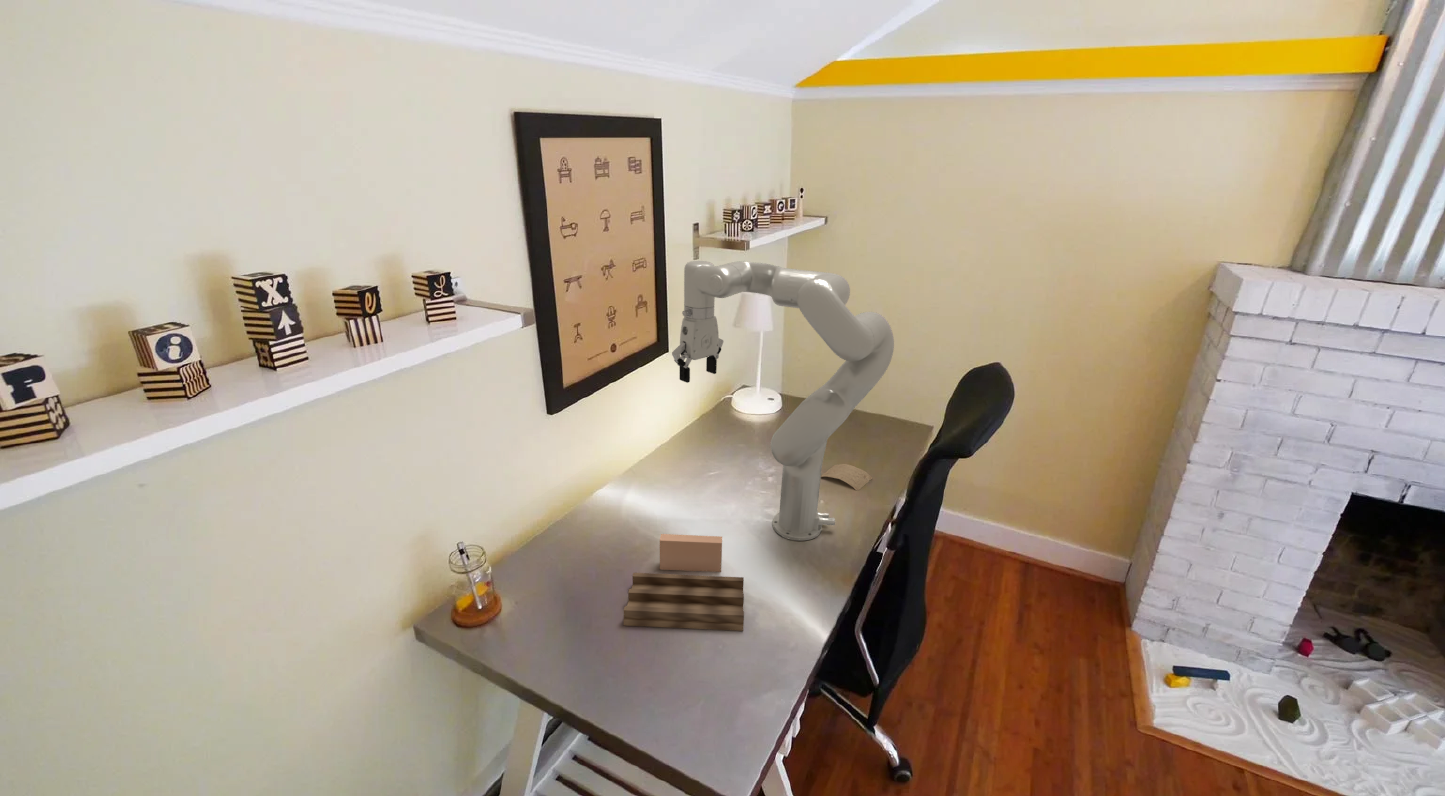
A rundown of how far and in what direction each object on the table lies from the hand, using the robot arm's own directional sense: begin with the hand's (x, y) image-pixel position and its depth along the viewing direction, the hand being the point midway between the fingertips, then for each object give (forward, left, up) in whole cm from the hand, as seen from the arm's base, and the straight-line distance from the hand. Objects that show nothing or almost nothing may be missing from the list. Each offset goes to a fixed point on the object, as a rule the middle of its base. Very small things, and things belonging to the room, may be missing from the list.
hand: (698, 376), depth 153 cm
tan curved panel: (-44, -13, -36) cm, 58 cm away
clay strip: (-1, +32, -35) cm, 48 cm away
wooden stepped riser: (-1, +45, -35) cm, 57 cm away
